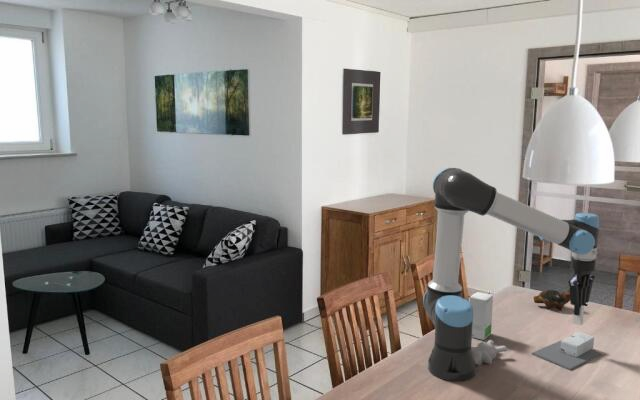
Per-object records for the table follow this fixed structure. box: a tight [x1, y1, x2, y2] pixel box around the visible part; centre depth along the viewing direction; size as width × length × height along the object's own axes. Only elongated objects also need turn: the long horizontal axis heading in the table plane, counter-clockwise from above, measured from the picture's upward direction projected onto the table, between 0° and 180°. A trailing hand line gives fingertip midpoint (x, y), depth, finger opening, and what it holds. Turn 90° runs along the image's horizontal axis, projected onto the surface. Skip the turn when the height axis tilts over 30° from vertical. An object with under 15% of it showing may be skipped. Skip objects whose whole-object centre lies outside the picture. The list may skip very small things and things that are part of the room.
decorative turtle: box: [532, 289, 570, 312], centre depth 230 cm, size 10×15×8 cm, turn 77°
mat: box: [531, 338, 603, 371], centre depth 186 cm, size 20×14×1 cm
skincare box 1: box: [469, 291, 494, 341], centre depth 201 cm, size 8×7×16 cm
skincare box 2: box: [560, 331, 595, 357], centre depth 188 cm, size 6×4×12 cm
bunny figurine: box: [471, 339, 508, 366], centre depth 182 cm, size 10×5×15 cm
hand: (577, 323), depth 187 cm, fingers closed
